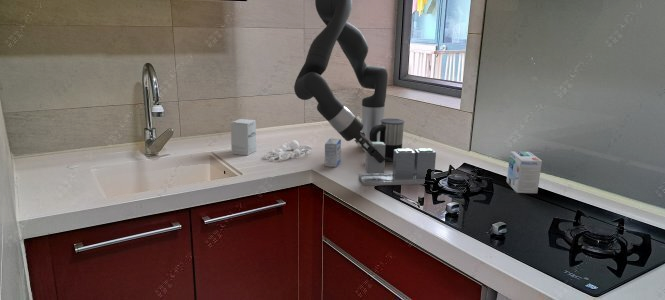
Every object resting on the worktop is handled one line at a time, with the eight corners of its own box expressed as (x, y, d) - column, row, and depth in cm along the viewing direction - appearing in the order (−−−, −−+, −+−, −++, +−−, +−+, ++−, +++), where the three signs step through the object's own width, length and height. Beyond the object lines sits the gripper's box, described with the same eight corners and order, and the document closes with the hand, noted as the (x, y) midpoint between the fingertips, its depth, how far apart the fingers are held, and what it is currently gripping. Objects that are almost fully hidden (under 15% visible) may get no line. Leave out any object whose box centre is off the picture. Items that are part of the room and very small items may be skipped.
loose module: (365, 170, 158) (366, 141, 155) (381, 169, 158) (383, 141, 156) (367, 173, 154) (368, 144, 151) (384, 173, 155) (385, 144, 152)
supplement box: (248, 155, 183) (247, 123, 179) (231, 153, 185) (229, 121, 182) (257, 151, 189) (256, 119, 186) (240, 149, 192) (239, 118, 188)
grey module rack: (358, 177, 160) (360, 147, 158) (428, 176, 163) (430, 146, 160) (363, 185, 153) (364, 153, 150) (435, 184, 156) (438, 152, 153)
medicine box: (336, 167, 171) (337, 144, 168) (324, 166, 172) (324, 143, 169) (340, 161, 178) (341, 138, 176) (329, 160, 179) (329, 138, 177)
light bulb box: (505, 181, 159) (509, 150, 156) (526, 182, 159) (530, 151, 156) (516, 193, 149) (520, 160, 146) (538, 193, 149) (543, 160, 146)
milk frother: (388, 153, 190) (390, 116, 186) (421, 162, 179) (424, 123, 175) (364, 160, 180) (366, 122, 176) (397, 170, 169) (400, 129, 165)
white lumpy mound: (281, 169, 172) (281, 158, 171) (255, 157, 181) (255, 147, 180) (318, 156, 186) (318, 146, 185) (292, 147, 195) (292, 137, 194)
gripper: (357, 119, 143) (395, 157, 148) (350, 110, 157) (385, 145, 162) (339, 136, 144) (377, 174, 149) (334, 126, 158) (368, 160, 162)
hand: (381, 159), depth 155 cm, fingers closed on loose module, 3 cm apart
